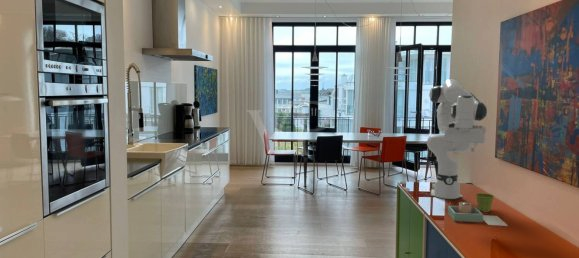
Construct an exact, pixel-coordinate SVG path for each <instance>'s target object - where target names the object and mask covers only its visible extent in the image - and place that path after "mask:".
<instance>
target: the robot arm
mask: <svg viewBox="0 0 579 258" xmlns="http://www.w3.org/2000/svg"><path fill="white" fill-rule="evenodd" d="M428 96H429V99H430V101H431V102H432V103H435V104H436V103H439V104H438V105H437V110H436V119H437V128H438V130H439V131H440V132H441V133H442V134H439V133H438V134H432V135H431V134H430V135H429V136H428V138H427V140H426V146H427V148H428V149H429V151H431V152H432V153H433V154H434V156H435V157H436V160H437V174H436V180H435V182H434V183H432V185H431V187H432V189H431V191H430V196H431V197H436V198H439V199H447V200H456V199H459V198H463V195H462V194H461V190H460V189H461V185H460V183H459V182H458V180H459V179H458V178H459V177H458V162H457V160H456V159H454V158H453V157H450V156H449V155H448V153H465V152H468V151H470V149H471V152H473V153H474V152H476V148H477V146H478V144H484V143H486V137H485V135H486V131H487V129H486V127H485V126H483V125H475V123H474V122H475V121H482V120H483V119H485V118H486V117H487V113H488V110H487V106H486V104H484V102H481V101H480V100H479V99H478V98H477V96H475V95H474V94H473V93H471V92H470V91H468V90H466V89H465V88H464V87H463V86H462V85H461V84H460V82H459V81H457V80H456V79H455V78H454V79H453V78H448V79H446V80H445V81H444V82H443V84H442V85H437V86H433V87H432V88H431V89H430V90H429V94H428ZM472 143H473V145H474V146H473V147H472Z"/></svg>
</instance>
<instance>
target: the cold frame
mask: <svg viewBox="0 0 579 258" xmlns="http://www.w3.org/2000/svg"><path fill="white" fill-rule="evenodd" d="M447 214H448V215H449V216H450V218H451V219H452V221H454V222H466V223H467V222H469V223H470V222H471V223H483V222H484V220H483V215H484V214H483V212H482V211H479V210H478V207H476V206H471V214H469V213H459V205H447Z"/></svg>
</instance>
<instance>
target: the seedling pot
mask: <svg viewBox="0 0 579 258" xmlns="http://www.w3.org/2000/svg"><path fill="white" fill-rule="evenodd" d="M472 205H473V204H472V203H471V202H465V201H460V202H458V206H459V213H469V214H471V207H473V206H472Z"/></svg>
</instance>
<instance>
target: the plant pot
mask: <svg viewBox="0 0 579 258" xmlns="http://www.w3.org/2000/svg"><path fill="white" fill-rule="evenodd" d="M475 196H476V201H477V203H476V204H477V209H478V210H479V211H480V212H481V213H488V212H491V210H492V209H491V208H492V204H493V201H494V198H495V195H493V194H491V193H483V192H481V193H476V194H475Z"/></svg>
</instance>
